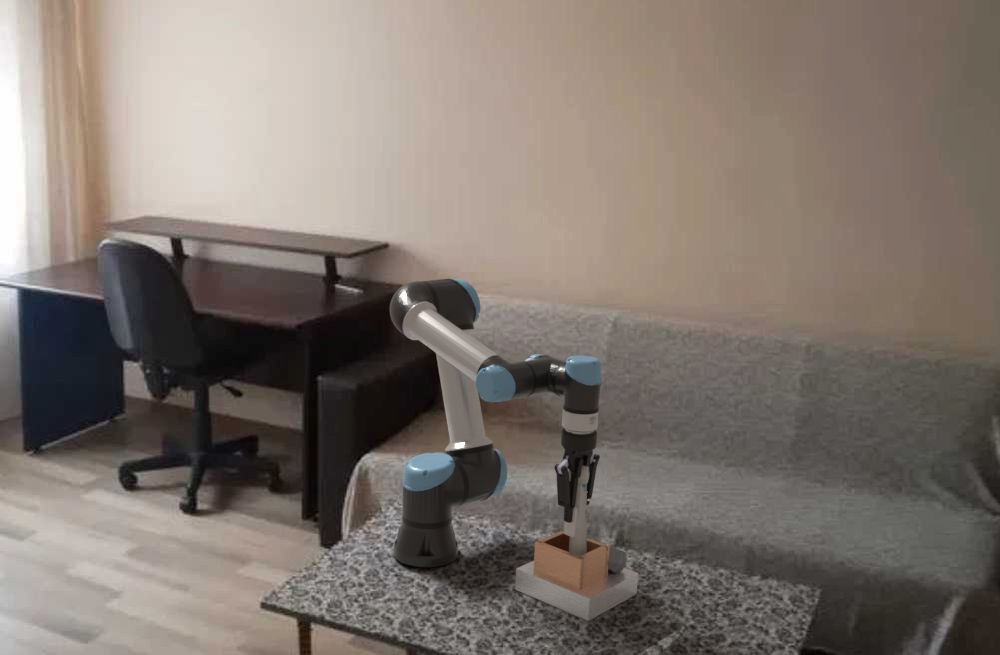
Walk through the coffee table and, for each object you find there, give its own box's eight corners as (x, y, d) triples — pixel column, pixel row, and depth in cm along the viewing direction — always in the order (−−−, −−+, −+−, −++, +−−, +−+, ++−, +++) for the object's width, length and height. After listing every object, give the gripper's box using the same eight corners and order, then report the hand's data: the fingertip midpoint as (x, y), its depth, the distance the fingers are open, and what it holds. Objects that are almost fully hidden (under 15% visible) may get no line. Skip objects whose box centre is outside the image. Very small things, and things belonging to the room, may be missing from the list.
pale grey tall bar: (583, 576, 220) (589, 465, 216) (553, 571, 223) (559, 460, 218) (589, 567, 225) (596, 458, 220) (560, 561, 227) (566, 454, 223)
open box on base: (515, 589, 226) (517, 538, 224) (565, 565, 240) (568, 517, 237) (588, 621, 213) (591, 567, 211) (636, 594, 227) (640, 543, 224)
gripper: (572, 440, 209) (565, 548, 214) (614, 426, 220) (606, 529, 225) (544, 431, 214) (537, 537, 219) (586, 418, 225) (579, 520, 230)
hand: (572, 533), depth 222 cm, fingers closed on pale grey tall bar, 2 cm apart
